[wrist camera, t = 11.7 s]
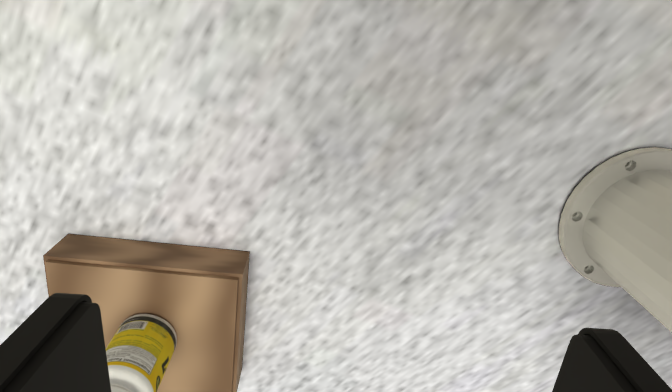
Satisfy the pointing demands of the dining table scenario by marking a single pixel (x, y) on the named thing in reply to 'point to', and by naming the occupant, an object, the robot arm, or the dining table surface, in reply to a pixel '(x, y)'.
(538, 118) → the dining table surface
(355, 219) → the dining table surface
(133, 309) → the walnut stand
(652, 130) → the dining table surface
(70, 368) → the robot arm
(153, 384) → the supplement bottle
